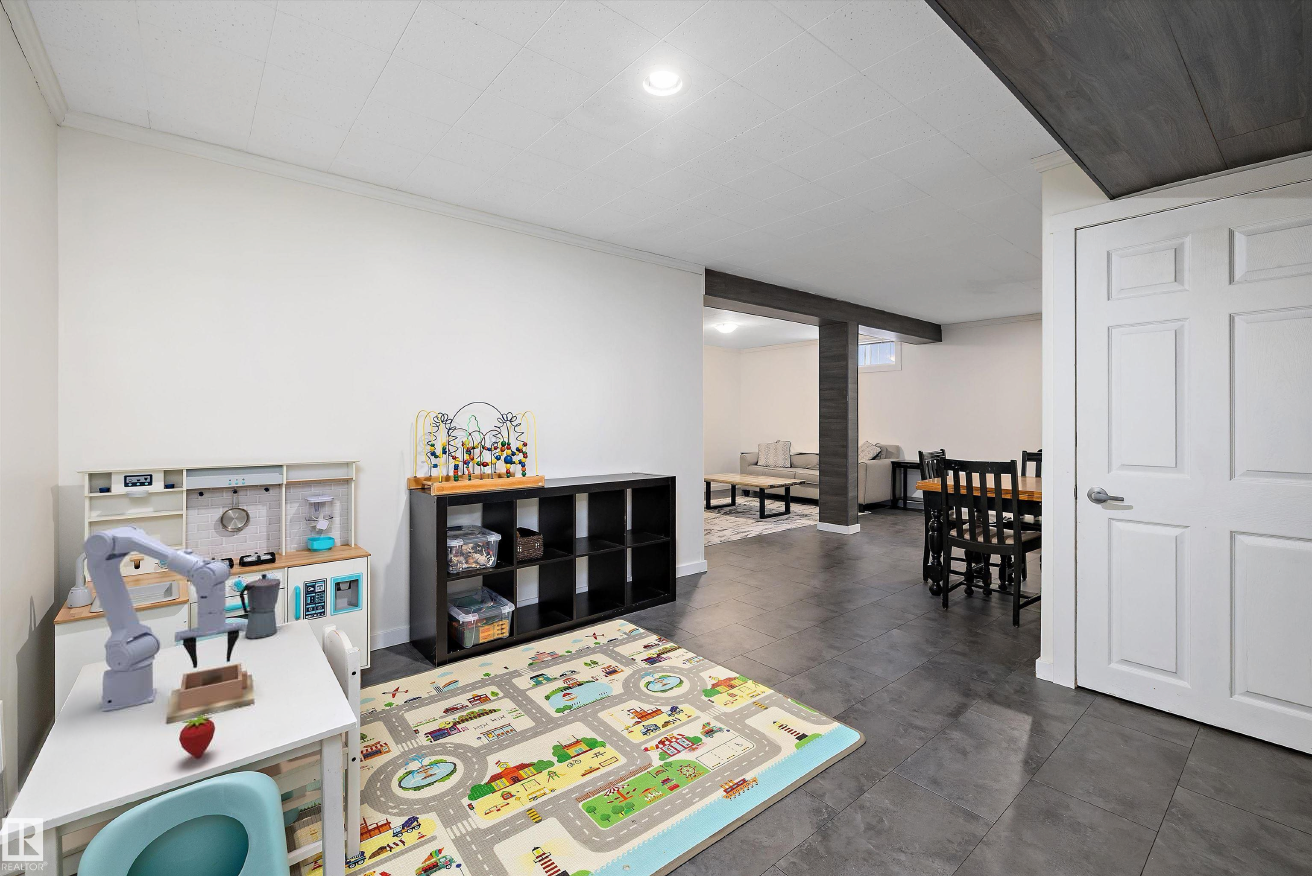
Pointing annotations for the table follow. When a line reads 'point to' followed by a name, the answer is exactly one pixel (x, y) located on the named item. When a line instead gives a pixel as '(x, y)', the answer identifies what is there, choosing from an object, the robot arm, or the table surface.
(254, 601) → the moka pot
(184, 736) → the strawberry
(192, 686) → the shallow wooden crate
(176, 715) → the light wood rectangular frame
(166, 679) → the table surface
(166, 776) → the table surface
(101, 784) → the table surface
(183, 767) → the table surface
